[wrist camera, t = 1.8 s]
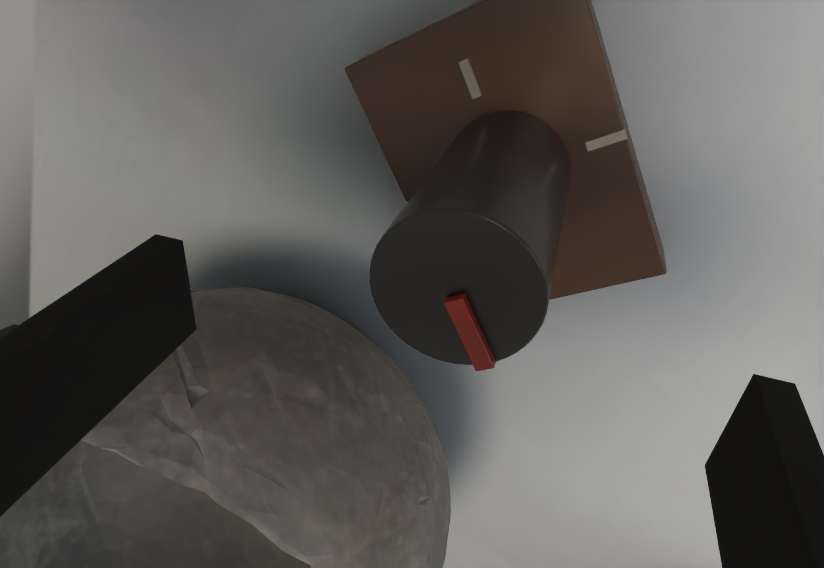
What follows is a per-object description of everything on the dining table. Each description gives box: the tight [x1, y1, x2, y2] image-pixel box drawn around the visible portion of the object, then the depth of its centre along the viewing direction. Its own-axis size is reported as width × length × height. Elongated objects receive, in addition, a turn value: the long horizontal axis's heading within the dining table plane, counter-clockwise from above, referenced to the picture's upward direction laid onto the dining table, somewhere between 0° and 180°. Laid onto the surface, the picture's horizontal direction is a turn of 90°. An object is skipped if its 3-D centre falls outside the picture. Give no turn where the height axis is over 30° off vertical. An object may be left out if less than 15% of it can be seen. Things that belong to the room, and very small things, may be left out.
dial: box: [370, 111, 570, 371], centre depth 19 cm, size 5×5×9 cm
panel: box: [345, 0, 667, 299], centre depth 23 cm, size 12×9×2 cm
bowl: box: [0, 287, 451, 568], centre depth 28 cm, size 20×20×15 cm
